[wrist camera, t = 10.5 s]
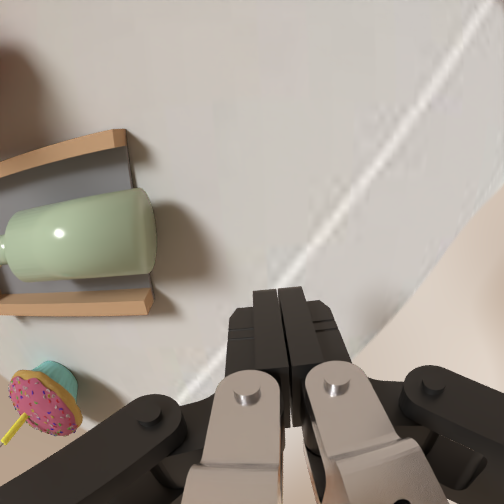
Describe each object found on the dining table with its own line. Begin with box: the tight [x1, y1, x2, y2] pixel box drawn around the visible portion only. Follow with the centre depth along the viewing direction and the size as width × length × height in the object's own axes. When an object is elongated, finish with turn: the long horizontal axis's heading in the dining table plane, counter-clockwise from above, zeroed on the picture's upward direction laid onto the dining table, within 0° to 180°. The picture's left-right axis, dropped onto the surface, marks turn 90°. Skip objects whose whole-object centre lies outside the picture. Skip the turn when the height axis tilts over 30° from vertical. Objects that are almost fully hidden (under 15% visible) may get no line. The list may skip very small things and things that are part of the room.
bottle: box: [0, 188, 157, 282], centre depth 19 cm, size 5×5×15 cm
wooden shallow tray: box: [0, 129, 155, 316], centre depth 21 cm, size 18×13×3 cm
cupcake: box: [0, 361, 83, 447], centre depth 22 cm, size 9×8×12 cm
